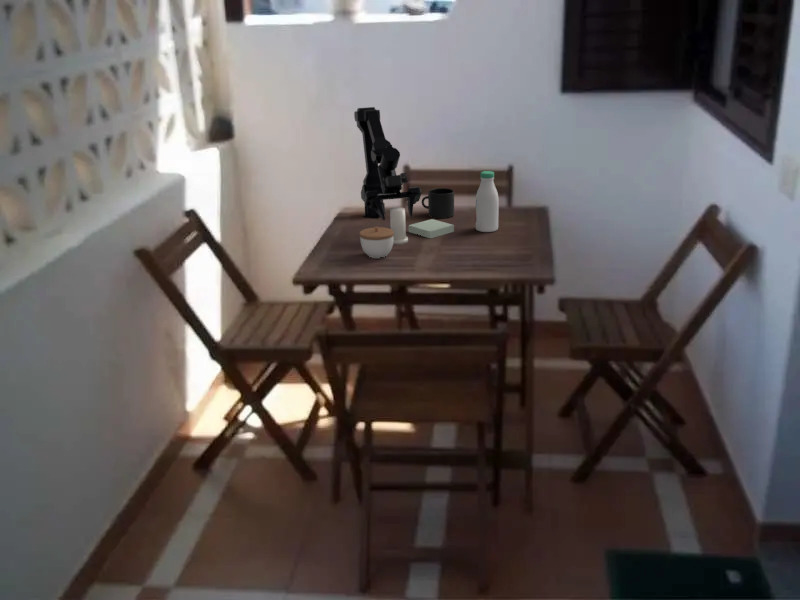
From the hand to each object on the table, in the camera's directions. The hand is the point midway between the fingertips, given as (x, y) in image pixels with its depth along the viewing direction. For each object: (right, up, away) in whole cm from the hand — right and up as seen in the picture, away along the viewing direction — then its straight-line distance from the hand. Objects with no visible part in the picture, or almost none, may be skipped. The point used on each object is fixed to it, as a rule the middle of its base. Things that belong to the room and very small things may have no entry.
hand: (397, 218), depth 286 cm
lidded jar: (-6, -13, -11) cm, 18 cm away
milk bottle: (+31, -3, +13) cm, 34 cm away
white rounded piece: (0, -7, +3) cm, 8 cm away
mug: (+15, +4, +32) cm, 36 cm away
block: (+12, -4, +12) cm, 17 cm away
